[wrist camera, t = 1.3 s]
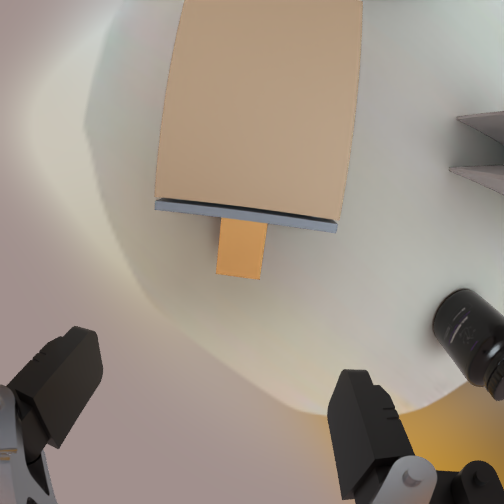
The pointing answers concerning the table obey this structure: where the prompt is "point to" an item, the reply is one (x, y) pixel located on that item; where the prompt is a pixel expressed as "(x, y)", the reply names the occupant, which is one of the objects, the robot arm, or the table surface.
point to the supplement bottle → (473, 339)
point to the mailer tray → (246, 214)
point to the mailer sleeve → (262, 104)
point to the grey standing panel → (500, 129)
